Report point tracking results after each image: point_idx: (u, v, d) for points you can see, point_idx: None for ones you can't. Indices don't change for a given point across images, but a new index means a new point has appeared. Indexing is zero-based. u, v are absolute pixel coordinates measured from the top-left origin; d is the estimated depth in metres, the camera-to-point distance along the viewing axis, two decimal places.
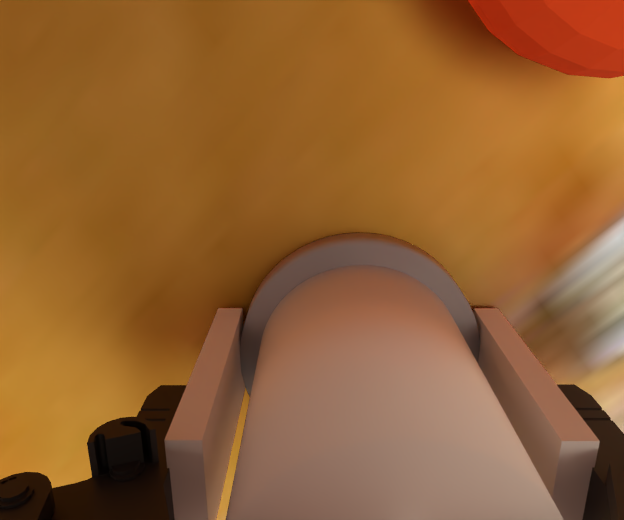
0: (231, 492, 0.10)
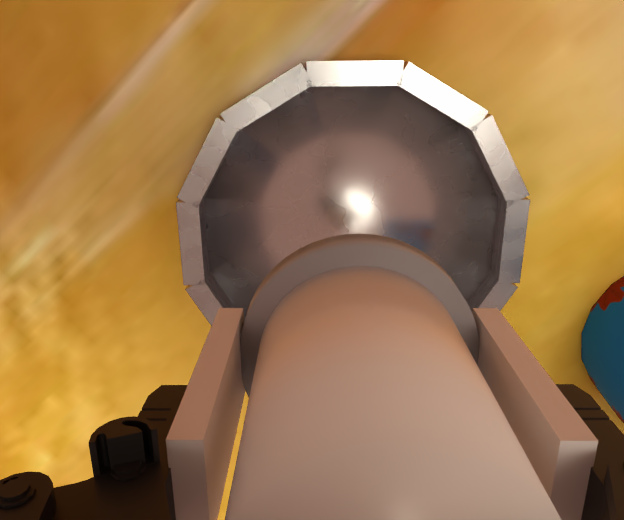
0: (230, 494, 0.10)
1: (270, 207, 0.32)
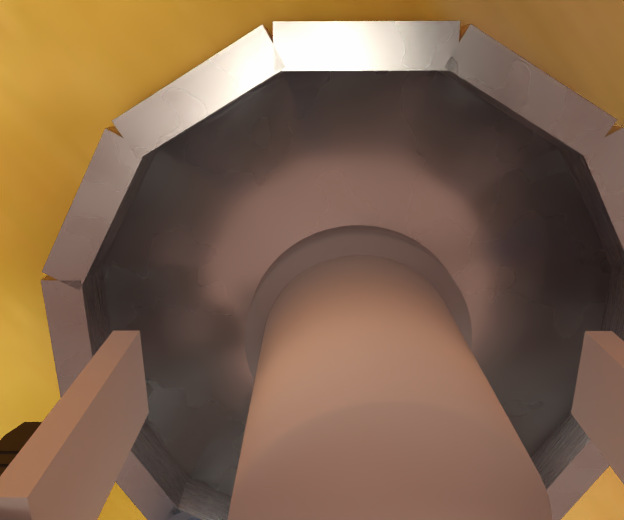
0: None
1: (411, 197, 0.17)
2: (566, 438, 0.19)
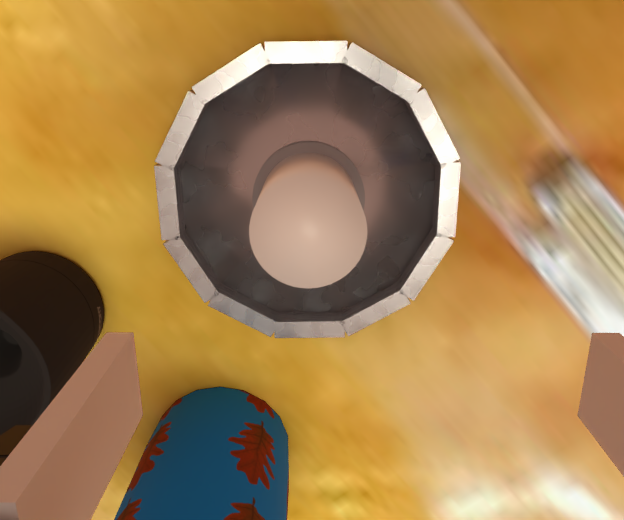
0: None
1: (333, 125, 0.35)
2: (419, 253, 0.37)
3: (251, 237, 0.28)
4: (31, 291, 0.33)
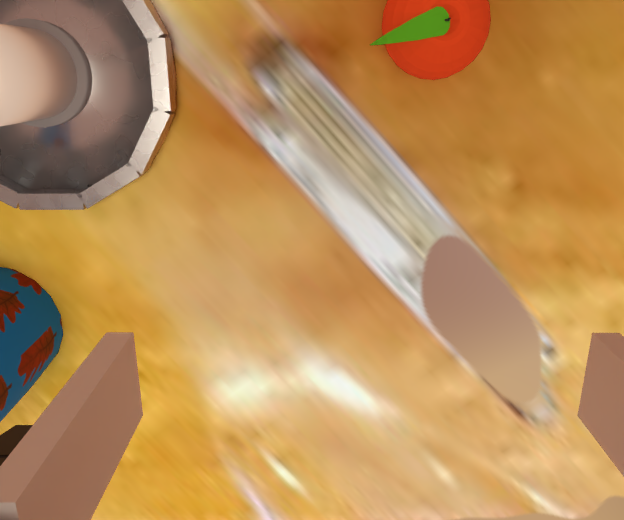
0: None
1: (55, 5, 0.39)
2: None
3: None
4: None
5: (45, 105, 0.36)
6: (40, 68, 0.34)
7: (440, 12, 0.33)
